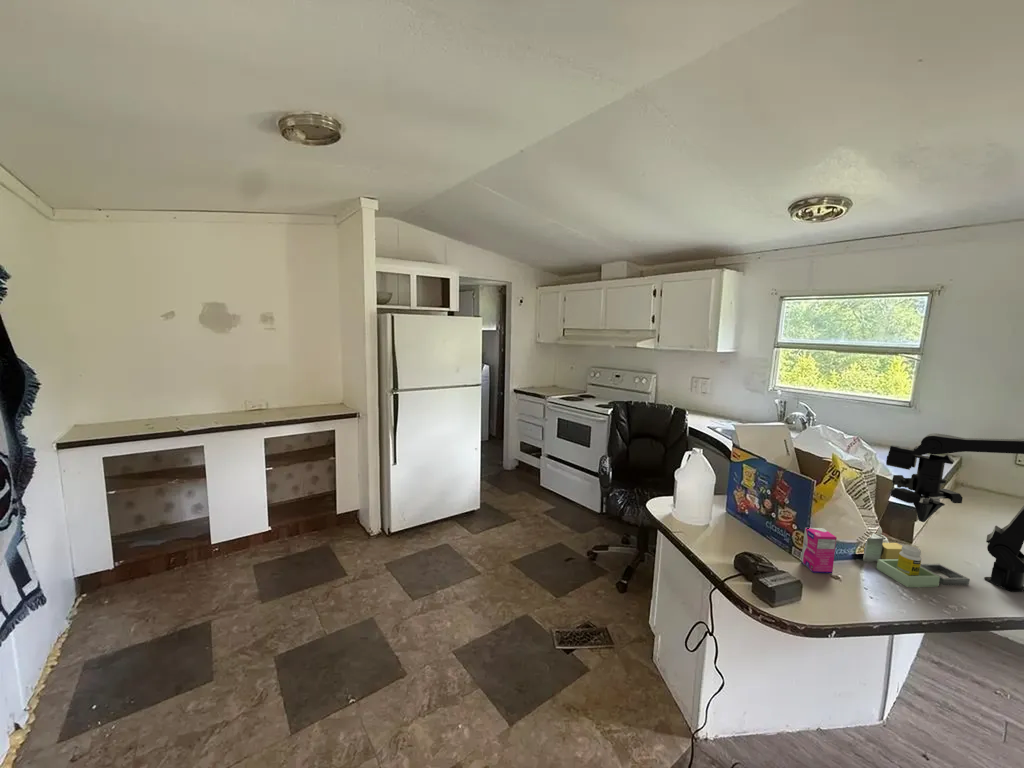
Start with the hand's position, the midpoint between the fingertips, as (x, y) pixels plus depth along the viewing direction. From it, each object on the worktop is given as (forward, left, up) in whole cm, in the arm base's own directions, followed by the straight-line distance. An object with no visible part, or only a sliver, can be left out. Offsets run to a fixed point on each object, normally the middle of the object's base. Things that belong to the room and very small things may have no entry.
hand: (921, 521), depth 135 cm
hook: (+3, -11, -12) cm, 17 cm away
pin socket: (+4, +11, -12) cm, 17 cm away
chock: (+9, 0, -12) cm, 15 cm away
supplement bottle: (+15, +11, -12) cm, 22 cm away
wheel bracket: (+16, 0, -12) cm, 20 cm away
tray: (+15, +11, -12) cm, 22 cm away
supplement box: (+39, +6, -12) cm, 41 cm away
